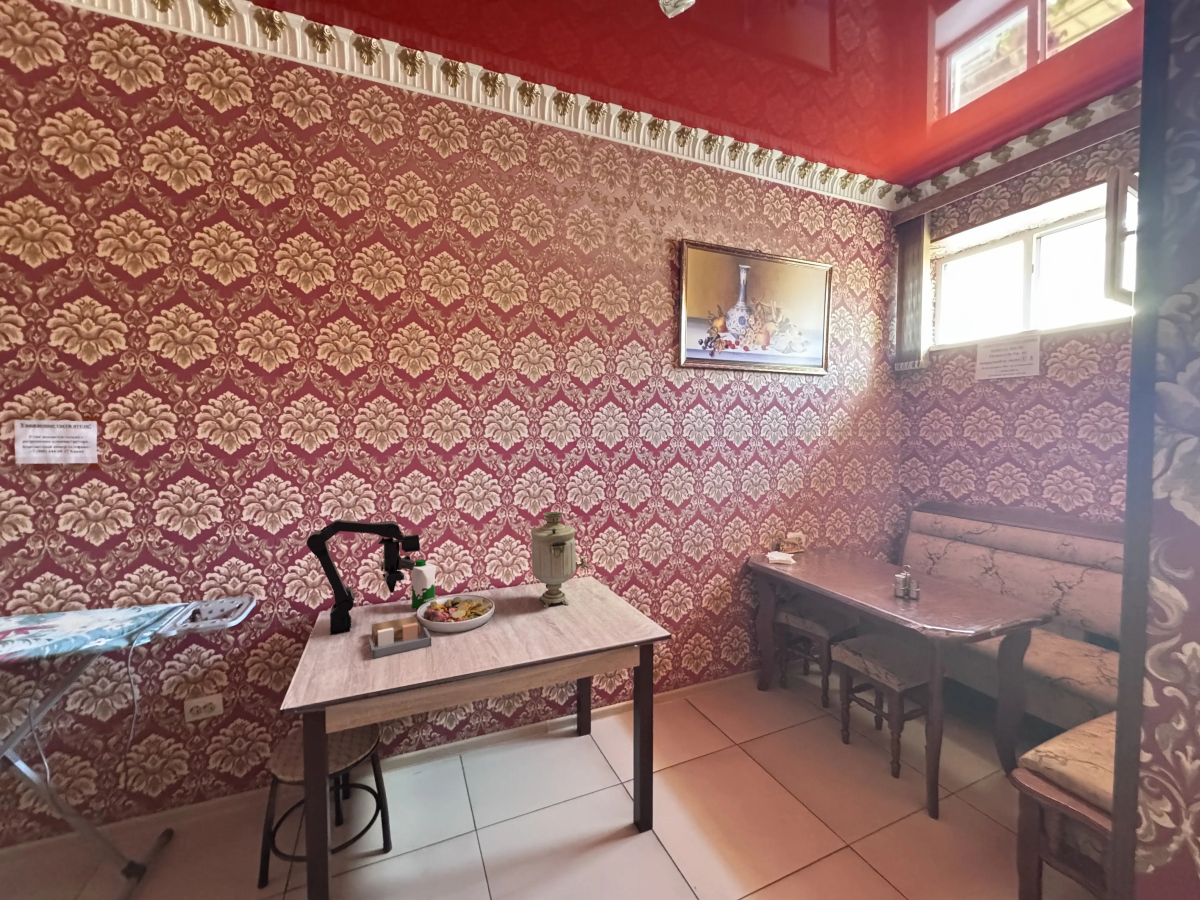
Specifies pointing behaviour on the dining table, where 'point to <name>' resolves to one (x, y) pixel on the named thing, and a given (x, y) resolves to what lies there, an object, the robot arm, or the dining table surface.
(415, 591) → the milk carton
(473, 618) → the bowl
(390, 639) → the cream tile
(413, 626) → the terracotta tile
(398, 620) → the board
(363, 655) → the dining table surface
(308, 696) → the dining table surface
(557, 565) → the samovar
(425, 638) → the tray
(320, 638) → the dining table surface
